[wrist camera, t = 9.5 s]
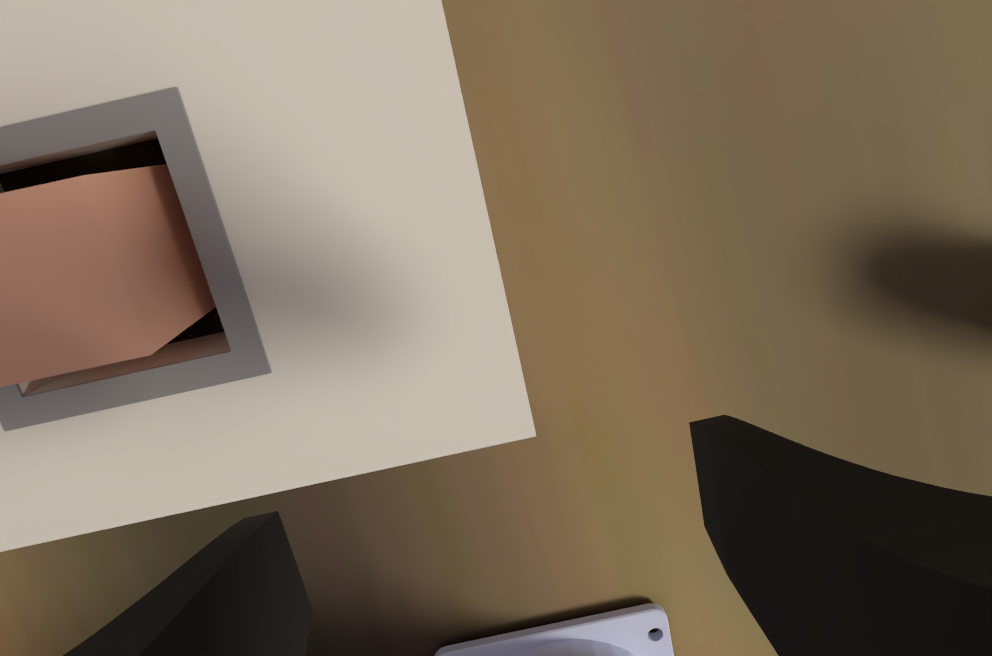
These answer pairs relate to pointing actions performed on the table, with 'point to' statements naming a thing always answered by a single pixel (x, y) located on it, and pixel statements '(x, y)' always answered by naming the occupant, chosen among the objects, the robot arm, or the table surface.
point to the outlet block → (264, 255)
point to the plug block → (94, 272)
